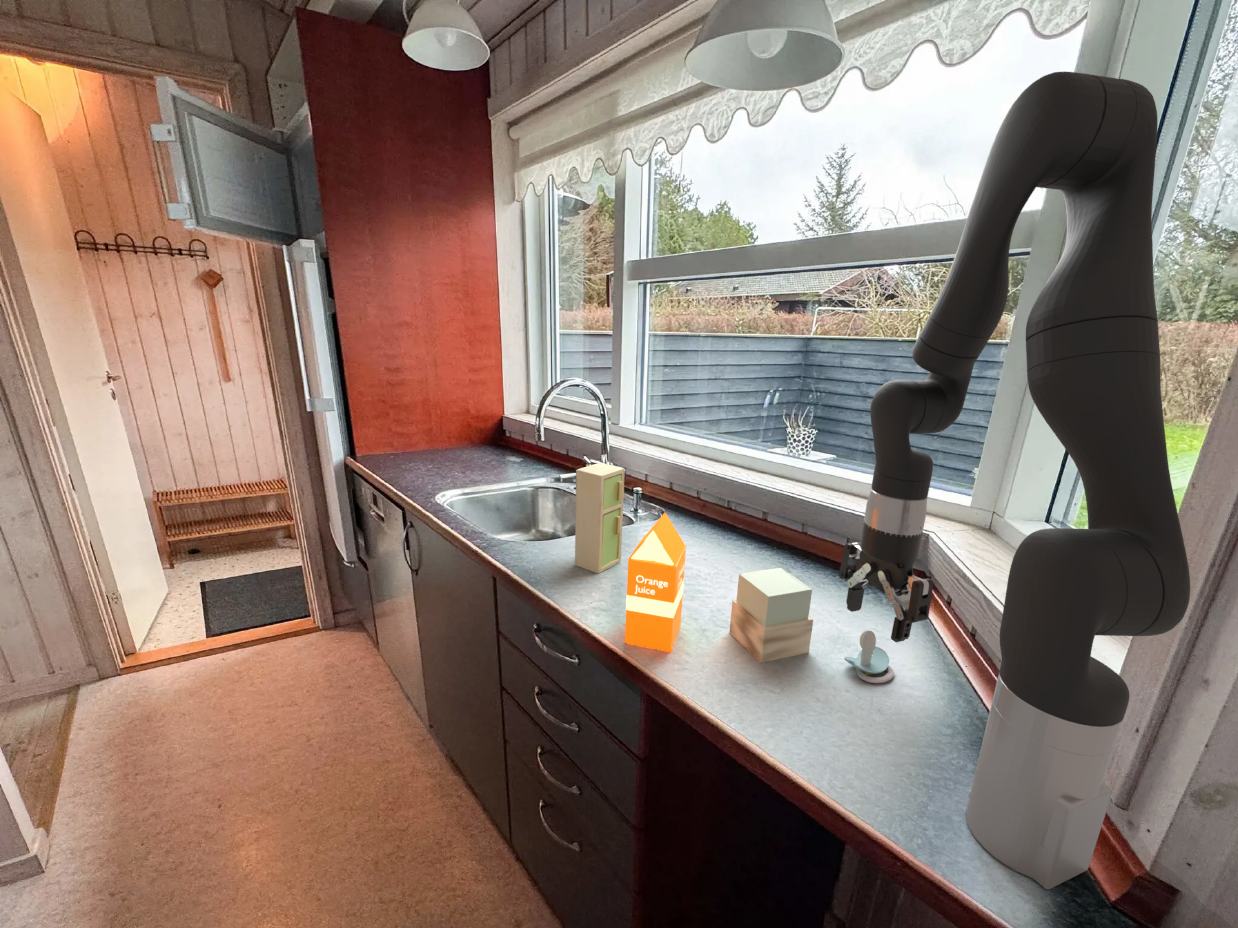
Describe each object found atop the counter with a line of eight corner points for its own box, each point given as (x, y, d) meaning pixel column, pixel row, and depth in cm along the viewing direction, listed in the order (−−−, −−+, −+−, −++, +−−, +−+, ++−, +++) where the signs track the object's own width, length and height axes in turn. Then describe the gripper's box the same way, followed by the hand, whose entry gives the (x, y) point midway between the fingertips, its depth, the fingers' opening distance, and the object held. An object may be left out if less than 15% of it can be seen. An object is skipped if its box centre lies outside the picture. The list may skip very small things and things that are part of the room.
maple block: (808, 653, 86) (813, 619, 84) (761, 663, 83) (764, 628, 81) (773, 624, 94) (777, 592, 93) (729, 632, 91) (732, 600, 89)
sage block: (808, 618, 85) (812, 589, 83) (765, 626, 82) (768, 596, 81) (776, 594, 92) (779, 567, 91) (736, 601, 89) (739, 573, 88)
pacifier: (902, 676, 81) (867, 654, 86) (911, 640, 79) (874, 619, 84) (872, 691, 77) (837, 667, 82) (880, 654, 76) (844, 632, 80)
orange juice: (681, 624, 93) (689, 514, 88) (671, 652, 84) (679, 533, 79) (637, 616, 95) (642, 508, 90) (623, 643, 87) (628, 526, 82)
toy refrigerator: (601, 575, 110) (603, 475, 104) (573, 565, 114) (575, 469, 109) (624, 562, 116) (628, 468, 111) (597, 553, 120) (600, 462, 115)
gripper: (958, 539, 71) (935, 646, 75) (874, 503, 84) (858, 597, 88) (915, 545, 68) (894, 656, 73) (836, 508, 81) (821, 604, 86)
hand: (874, 624), depth 80 cm, fingers open, 8 cm apart
